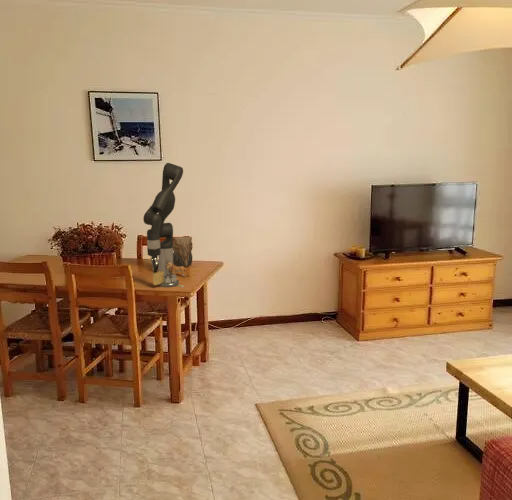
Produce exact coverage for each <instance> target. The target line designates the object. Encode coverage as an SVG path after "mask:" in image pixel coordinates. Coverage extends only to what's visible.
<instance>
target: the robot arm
mask: <svg viewBox="0 0 512 500" xmlns="http://www.w3.org/2000/svg"><path fill="white" fill-rule="evenodd" d="M183 174H184V169H183V167H182V166H180V165H177V164H173V163H170V162H166V163H165V164H164V167H163V170H162V179H161V180H162V181H161V182H162V183H161V191H159V192H158V193H157V194H156V195H155V198H154V200H153V202H152V204H151V205H150V207H149V208H148V209H147V210H146V212H145V213H144V215H143V222H144V224H145V225H148V226H150V228H149V229H147V231H146V239H147V240H146V246H147V255H148V256H149V257H150V263H151V265H150V266H151V269H152V274H153V273H154V272H158V271H164V275H167V273H170V275H173V273H172V272H170V271H169V270H168V269H167V268H166V265H167V263H172V264H173V252H174V251H173V242H174V226H173V224H172V223H171V222H165V221H166V219H167V218H168V217H169V215H171V213H172V212H173V211H174V208H175V205H176V204H175V203H176V196H175V193H174V191H175V189H176V188H177V186H178V185H179V183H180V181H181V179H182V178H183ZM161 238H165V239H163V240H162V241H160V239H161Z"/></svg>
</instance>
